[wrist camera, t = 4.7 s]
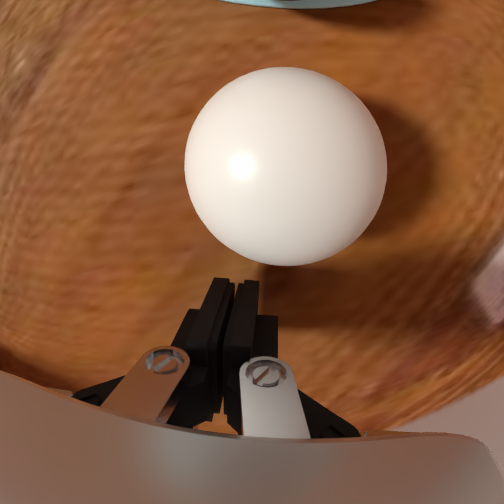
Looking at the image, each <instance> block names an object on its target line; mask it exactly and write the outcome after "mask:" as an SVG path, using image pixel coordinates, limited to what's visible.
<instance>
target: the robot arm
mask: <svg viewBox="0 0 504 504" xmlns="http://www.w3.org/2000/svg"><path fill="white" fill-rule="evenodd" d="M234 295H235V284H234V283H230V281H229V279H227V278H214V279H213V281H212V284H211V286H210V288H209V290H208V293H207V295H206V297H205V299H204V301H203V304H202V306H201V308H200V310H199V309H189V310H188V312H187V314H186V316H185V318H184V320H183V322H182V324H181V326H180V328H179V330H178V332H177V334H176V336H175V338H174V340H173V342H172V344H171V346H159V347H155V348H152V349H150V350H148V351H147V352H146V353H145V354H143V355H142V357H141V358H140V359H139V360H138V361H137V363H136V364H135V365H134V366H133V367H132V369H131V370H130V371H129V372H128V373H127V375H125V376H122V377H119V378H116V379H113V380H110V381H107V382H104V383H101V384H98V385H95V386H92V387H89V388H85V389H82V390H80V391H78V392H76V393H75V394H74V395H73V393H72V391H69V390H62V389H55V388H49V387H43V386H40V385H38V384H35V383H33V382H31V381H28V380H25V379H23V378H20V377H18V376H16V375H13V374H10V373H7V372H4V371H1V370H0V504H504V470H503V469H502V467H501V465H500V463H499V462H498V460H497V458H496V457H495V455H494V454H493V452H492V451H491V450H490V449H489V448H488V447H487V446H486V445H485V444H484V443H482V442H481V441H479V440H478V439H475V438H472V437H469V436H464V435H459V434H451V433H438V432H422V433H419V432H418V433H417V432H398V431H384V430H373V429H367V430H366V432H359V431H358V430H357V429H356V428H355V427H354V426H353V425H351V424H350V423H348V422H347V421H345V420H344V419H342V418H340V417H339V416H337V415H336V414H334V413H333V412H331V411H330V410H328V409H327V408H325V407H324V406H322V405H321V404H319V403H318V402H316V401H315V400H313V399H312V398H310V397H309V396H307V395H306V394H304V393H303V392H301V391H300V390H298V389H297V386H296V382H295V379H294V375H293V372H292V370H291V368H290V366H289V365H288V364H287V363H285V362H284V361H282V360H280V359H278V316H268V315H257V313H258V297H259V281H254V280H245V281H244V284H242V283H239V284H238V288H237V292H236V295H235V299H234ZM222 399H223V400H224V414H226V415H227V423H228V424H229V425H230V426H231V427H232V428H233V429H235V430H236V431H237V432H238V435H234V434H225V433H217V432H209V431H202V430H198V424H200V423H202V422H204V421H210V422H212V418H213V414H214V413H218V414H219V413H220V409H221V404H222Z"/></svg>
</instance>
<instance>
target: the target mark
mask: <svg viewBox="0 0 504 504" xmlns="http://www.w3.org/2000/svg"><path fill="white" fill-rule="evenodd" d="M219 1H224V2H229V3H234V4H242V5H250V6H257V7H270V8H289V9H319V8H335V7H347V6H353V5H358V4H364V3H369V2H372V1H376V0H298V1H279V0H219Z"/></svg>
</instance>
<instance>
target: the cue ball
mask: <svg viewBox="0 0 504 504" xmlns="http://www.w3.org/2000/svg"><path fill="white" fill-rule="evenodd" d="M184 169H185V179H186V184H187V188H188V192H189V196H190V199H191V201H192V204H193V206H194V208H195V210H196V212H197V214H198V215H199V217H200V219H201V220H202V222H203V223H204V224H205V225H206V227H207V228H208V229H209V231H210V232H211V233H212V234H213V235H214V236H215V237H216V238H217V239H218V240H219V241H221V242H222V243H223V244H224V245H226V246H227V247H228V248H230V249H232V250H233V251H235V252H237V253H238V254H240V255H242V256H244V257H246V258H249V259H251V260H254V261H257V262H260V263H265V264H269V265H278V266H297V265H305V264H310V263H314V262H317V261H321V260H324V259H326V258H328V257H331V256H333V255H335V254H337V253H338V252H340V251H342V250H343V249H345V248H346V247H348V246H349V245H350V244H352V243H353V242H354V241H355V240H356V239H357V238H358V237H359V236H360V235H361V234H362V233H363V232H364V231H365V229H366V228H367V227H368V225H369V224H370V222H371V221H372V219H373V218H374V216H375V214H376V212H377V211H378V209H379V206H380V204H381V201H382V198H383V195H384V190H385V185H386V181H387V156H386V150H385V146H384V141H383V138H382V135H381V133H380V130H379V127H378V126H377V124H376V122H375V120H374V118H373V116H372V115H371V113H370V112H369V110H368V109H367V108H366V106H365V105H364V104H363V102H362V101H361V100H360V99H359V98H358V97H357V96H356V95H355V94H354V93H353V92H351V91H350V90H349V89H347V88H346V87H345V86H343V85H342V84H340V83H339V82H337V81H335V80H333V79H332V78H330V77H328V76H326V75H323V74H320V73H318V72H315V71H312V70H307V69H302V68H296V67H274V68H266V69H262V70H257V71H254V72H251V73H248V74H246V75H243V76H241V77H239V78H237V79H235V80H233V81H232V82H230V83H228V84H227V85H226V86H224V87H223V88H222V89H220V90H219V91H218V92H217V93H216V94H215V95H214V96H213V97H212V98H211V99H210V100H209V101H208V102H207V103H206V105H205V106H204V107H203V109H202V110H201V112H200V113H199V115H198V117H197V118H196V120H195V122H194V124H193V126H192V128H191V131H190V134H189V137H188V141H187V146H186V151H185V168H184Z"/></svg>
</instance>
